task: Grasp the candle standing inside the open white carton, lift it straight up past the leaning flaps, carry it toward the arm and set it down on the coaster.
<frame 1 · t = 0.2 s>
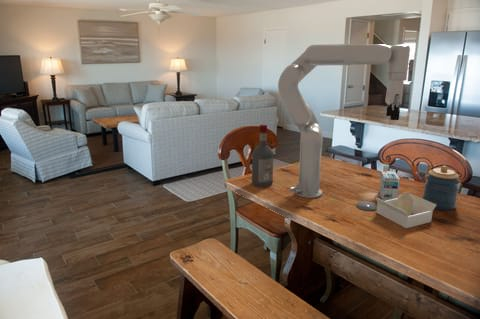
hand: (392, 117, 154), 37 cm above the table, tool pointing down, fingers open, 9 cm apart
canister: (438, 205, 158), on the table
carton: (402, 217, 146), on the table
light bulb box: (387, 196, 167), on the table
coaster: (366, 206, 156), on the table
liquor: (262, 184, 183), on the table
candle: (402, 217, 146), resting in carton
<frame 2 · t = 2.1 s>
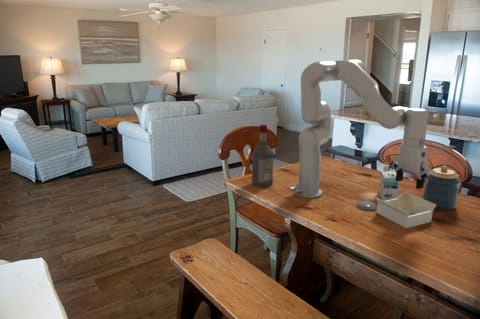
hand: (408, 184, 142), 14 cm above the table, tool pointing down, fingers open, 9 cm apart
nothing on the table moved.
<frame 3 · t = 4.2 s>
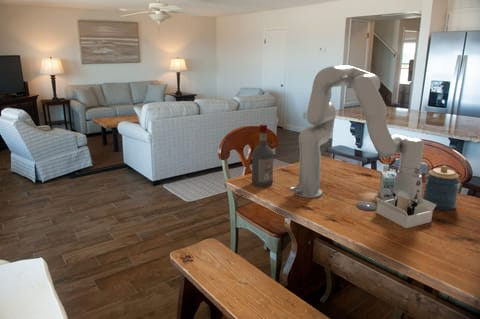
hand: (403, 212, 145), 2 cm above the table, tool pointing down, fingers closed on candle, 5 cm apart
candle: (402, 217, 146), resting in carton, touching gripper
everything else where it was.
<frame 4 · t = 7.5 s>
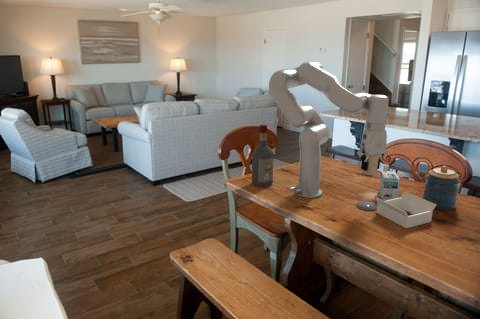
hand: (370, 168, 151), 17 cm above the table, tool pointing down, fingers closed on candle, 5 cm apart
candle: (369, 173, 152), point 15 cm above the table, touching gripper
everything else where it was.
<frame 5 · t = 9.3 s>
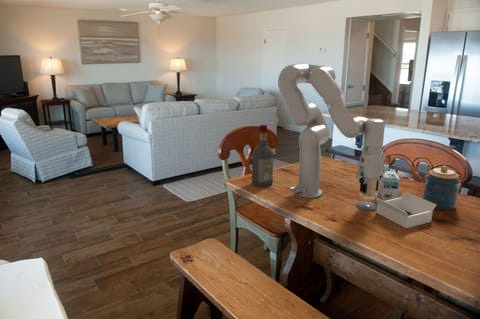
hand: (368, 190, 154), 7 cm above the table, tool pointing down, fingers closed on candle, 5 cm apart
candle: (368, 195, 154), point 5 cm above the table, touching gripper
everything else where it was.
when the fingers open (4 cm above the table, at t = 10.9 s): candle drops 1 cm, resting on coaster.
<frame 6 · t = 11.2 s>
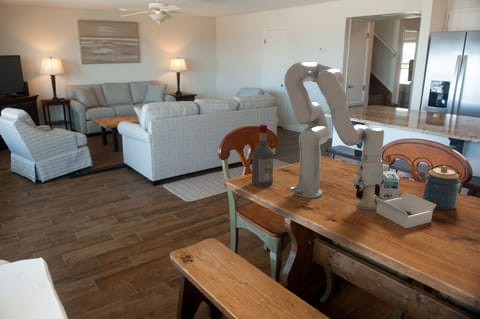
hand: (367, 196, 154), 5 cm above the table, tool pointing down, fingers open, 8 cm apart
candle: (366, 205, 156), point 1 cm above the table, touching coaster
everything else where it was.
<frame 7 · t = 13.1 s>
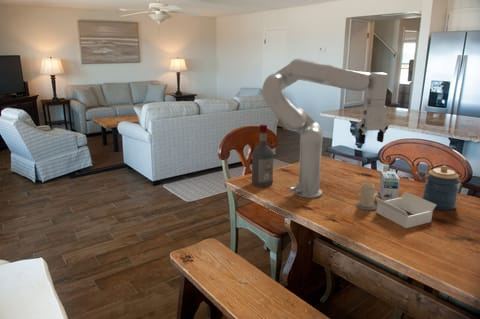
hand: (370, 142, 157), 26 cm above the table, tool pointing down, fingers open, 9 cm apart
nothing on the table moved.
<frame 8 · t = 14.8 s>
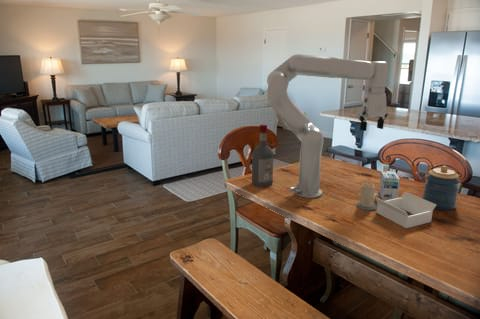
hand: (371, 129, 163), 30 cm above the table, tool pointing down, fingers open, 9 cm apart
nothing on the table moved.
at the end: candle inside the target area on the coaster (0.2 cm from its centre), point 0.6 cm above the coaster's base; candle tilted 0°; the gripper is holding nothing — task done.
